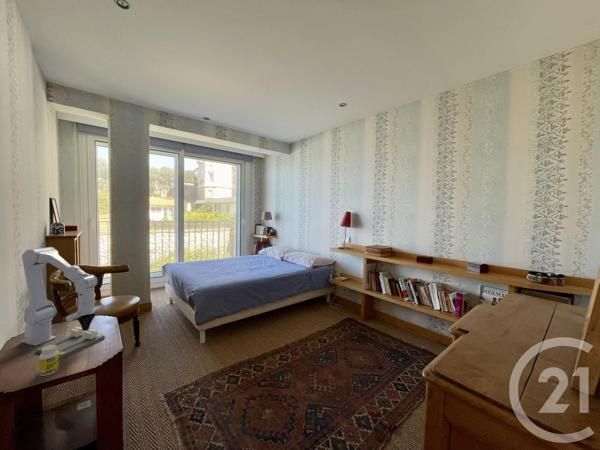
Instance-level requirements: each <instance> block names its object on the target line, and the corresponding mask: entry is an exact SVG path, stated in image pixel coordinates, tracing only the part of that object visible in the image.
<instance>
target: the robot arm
mask: <svg viewBox="0 0 600 450" xmlns="http://www.w3.org/2000/svg"><path fill="white" fill-rule="evenodd" d="M21 259H22V265H23V270H24V275H25V282H26V287H27V291H28V292H27V293H28V297H29V305H28V306H27V307H26V308H25V309H24V310H23V311H24V313H23V322H24V323H25V326H24V330H23V331H24V335H23V336H24V338H23V339H22V340H21V342H22V343H24V344H27V345H32V346H38V345H42V344H44V343H46V342H49V341H52V340H54V339H56V338H57V336H55V335H52V320H54V317H55V316H56V315H57V308H56V307H55V305H54V302H53V301H51V300H50V299H48V298H47V297H48V296H47V291H46V287H45V281H44V276H43V271H42V268H43V267H44V266H45V265H46V264H48V263H49V264H51V265H52V266H53V267H55V268H57V269H59V270H60V271H62V272H63V276H64V277H65V278H67V279H68V280H69V281H71V282H72V283H73V285H74V287H75V289H76V293H77V311H76V312H74V313H71V314H70V315H67V316H66V317H65V319H66V322H72V321H73V320H75V319H77V321H78V323H79V324H80V326H81V327H80V328H82V330H83V331H87V330H90V326H91V325H92V322H93V320H94V318H95V317H96V312H99V311H103V310H104V305H101V304H100V305H97V306H95V286H97V285H98V282H99V279H98V278H97V276H96V275H95V274H89V273H87V272H85V271H84V270H82V269H81V268H80V267H79V265H77V266H76V265H71V264H70V263H69V262H68V261H66V260H65V259H64V258H63V257H62V256H61V255H60V254H59V251H58V250H57V249H56V248H54V247H52V246H48V247H41V248H32V249H27V250H25V251H24V252H23V253H22V255H21Z"/></svg>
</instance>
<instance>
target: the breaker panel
mask: <svg viewBox="0 0 600 450" xmlns="http://www.w3.org/2000/svg"><path fill="white" fill-rule="evenodd" d="M84 332H85V331H84ZM103 340H105V335H103V334H98V333H97V337H95V338H93V339H91V340H90V339H86V338H84V334H83V335H81V336H78V337H74V336H70V335H68V336H65V337H63V338H59V339H57V340H55V341H52V342H51V343H47V344H45V345H43V346H42V345H41V346H40V347H38V348H35V351H36V353H38V354H40V355H41V354H42V348H44V347H46V346H49V345H56V346H57V349H56V350H58V351H59V360H62V359H65V358H66V357H68V356H71V355H73V354H75V353H77V352H79V351H82V350H83V349H86V348H88V347H90V346H92V345H94V344H96V343H98V342H100V341H103Z"/></svg>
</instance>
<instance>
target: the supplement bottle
mask: <svg viewBox="0 0 600 450" xmlns="http://www.w3.org/2000/svg"><path fill="white" fill-rule="evenodd" d="M56 349H57V346H56V345H49V346H46V347H44V348H42V354H41V353H40V355H39V356H38V357H39V358H38V375H39V376H41V377H42V376H45V377H46V376H49V375H50V376H51V375H52V374H54V373H56V372H57V371H58V370H59V365H60V364H59V362H60V359H59V351H58V350H56Z"/></svg>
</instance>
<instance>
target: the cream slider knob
mask: <svg viewBox="0 0 600 450" xmlns="http://www.w3.org/2000/svg"><path fill="white" fill-rule="evenodd" d="M83 334H84V331H83V330H82V327H79V326H77V327H73V328H72V329H70V335H69V336H74V337H78V336H81V335H83Z"/></svg>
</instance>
